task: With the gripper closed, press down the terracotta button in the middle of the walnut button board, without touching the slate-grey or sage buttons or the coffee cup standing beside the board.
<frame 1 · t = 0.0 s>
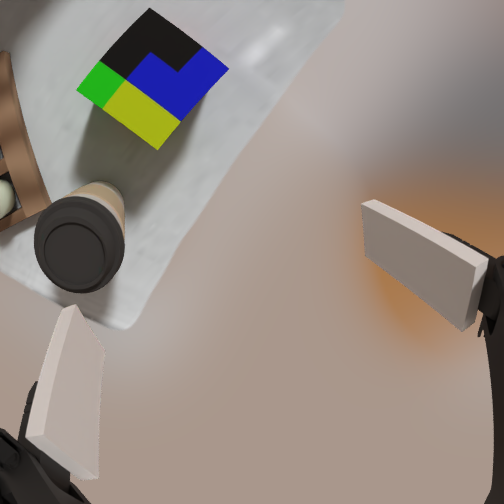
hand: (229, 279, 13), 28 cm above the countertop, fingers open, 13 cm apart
puzzle toy: (153, 87, 32), on the countertop
coffee cup: (99, 207, 36), on the countertop
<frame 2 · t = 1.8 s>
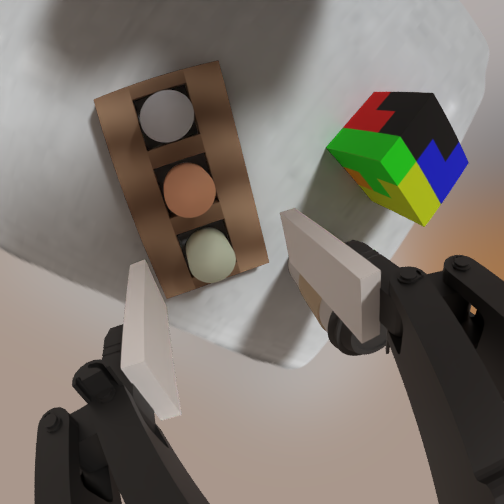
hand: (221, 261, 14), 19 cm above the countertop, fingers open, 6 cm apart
button sage: (209, 254, 31), point 3 cm above the countertop, slide at 0.0 cm
button board: (185, 181, 31), on the countertop
puzzle toy: (373, 146, 36), on the countertop
button grey: (166, 116, 25), point 3 cm above the countertop, slide at 0.0 cm
coffee cup: (312, 258, 39), on the countertop
button terracotta: (188, 188, 28), point 3 cm above the countertop, slide at 0.0 cm
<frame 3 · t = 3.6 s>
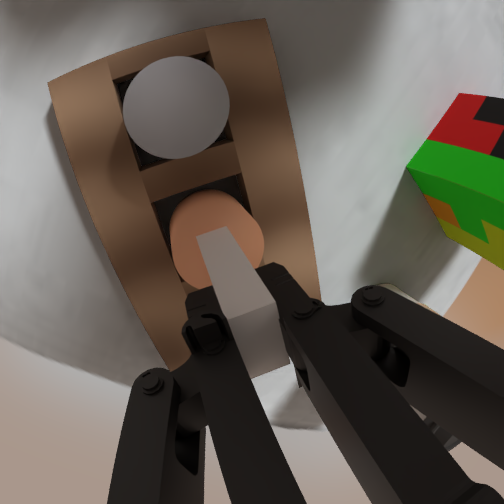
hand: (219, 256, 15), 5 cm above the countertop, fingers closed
button board: (204, 218, 19), on the countertop
puzzle toy: (454, 166, 24), on the countertop
button grey: (174, 108, 13), point 3 cm above the countertop, slide at 0.0 cm
coffee cup: (372, 314, 28), on the countertop
button terracotta: (213, 238, 17), point 3 cm above the countertop, slide at 0.1 cm, touching gripper
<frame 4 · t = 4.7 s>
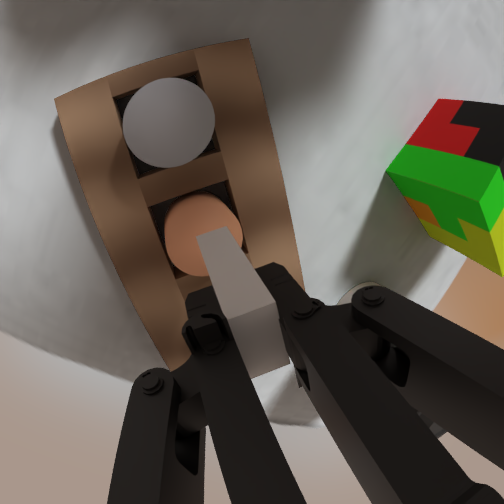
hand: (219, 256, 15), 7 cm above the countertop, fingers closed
button board: (196, 221, 21), on the countertop
puzzle toy: (435, 168, 26), on the countertop
button grey: (167, 122, 15), point 3 cm above the countertop, slide at 0.0 cm
coffee cup: (358, 311, 30), on the countertop
button terracotta: (200, 231, 20), point 2 cm above the countertop, slide at 1.3 cm
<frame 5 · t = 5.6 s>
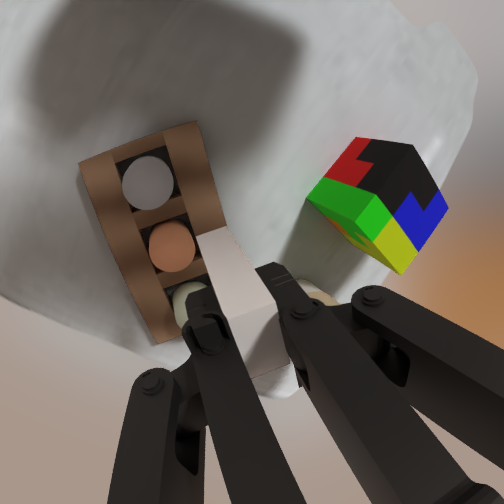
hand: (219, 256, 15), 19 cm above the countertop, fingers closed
button sage: (194, 306, 33), point 3 cm above the countertop, slide at 0.0 cm
button board: (169, 238, 33), on the countertop
puzzle toy: (354, 192, 38), on the countertop
button grey: (147, 181, 27), point 3 cm above the countertop, slide at 0.0 cm
coffee cup: (294, 301, 41), on the countertop
button terracotta: (171, 244, 31), point 2 cm above the countertop, slide at 1.3 cm
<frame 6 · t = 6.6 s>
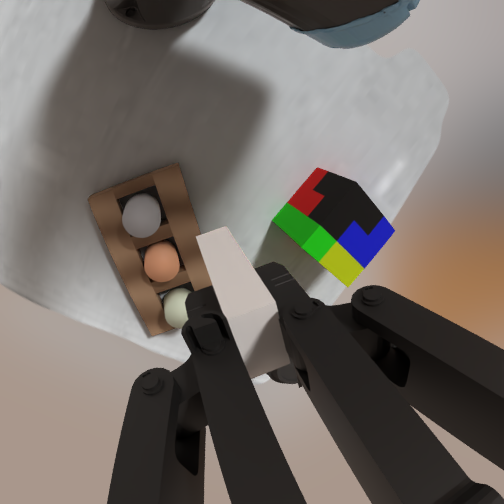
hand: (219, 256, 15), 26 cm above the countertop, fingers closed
button sage: (180, 307, 42), point 3 cm above the countertop, slide at 0.0 cm
button board: (161, 254, 42), on the countertop
puzzle toy: (315, 213, 46), on the countertop
button grey: (141, 214, 36), point 3 cm above the countertop, slide at 0.0 cm
coffee cup: (264, 303, 50), on the countertop
button terracotta: (161, 260, 40), point 2 cm above the countertop, slide at 1.3 cm
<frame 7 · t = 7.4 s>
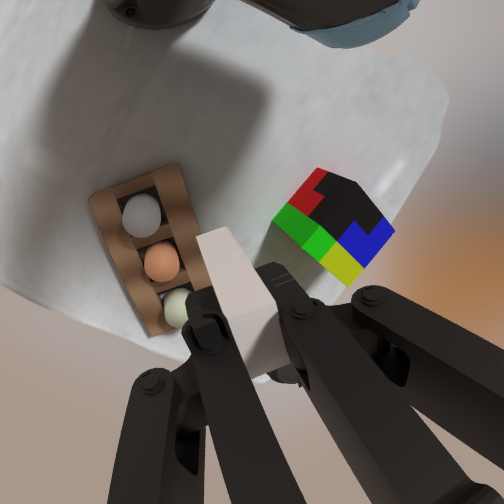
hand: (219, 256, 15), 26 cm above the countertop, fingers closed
button sage: (180, 307, 42), point 3 cm above the countertop, slide at 0.0 cm
button board: (161, 254, 42), on the countertop
puzzle toy: (315, 213, 46), on the countertop
button grey: (142, 214, 36), point 3 cm above the countertop, slide at 0.0 cm
coffee cup: (264, 303, 50), on the countertop
button terracotta: (161, 260, 40), point 2 cm above the countertop, slide at 1.3 cm
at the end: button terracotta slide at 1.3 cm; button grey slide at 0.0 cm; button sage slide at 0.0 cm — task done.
